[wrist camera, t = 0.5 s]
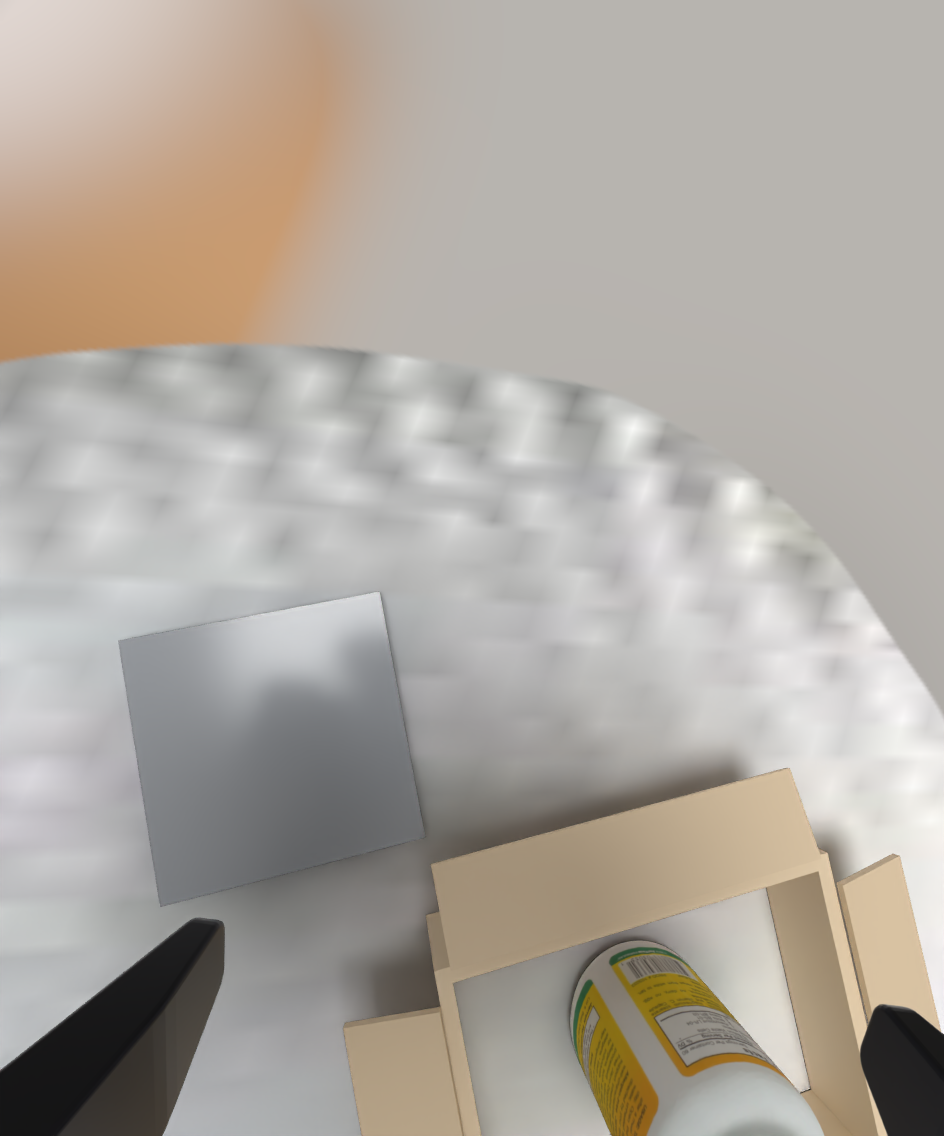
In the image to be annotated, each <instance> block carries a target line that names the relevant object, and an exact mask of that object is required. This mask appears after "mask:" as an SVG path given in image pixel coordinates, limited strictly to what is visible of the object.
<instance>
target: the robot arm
mask: <svg viewBox="0 0 944 1136" xmlns="http://www.w3.org/2000/svg"><path fill="white" fill-rule="evenodd" d="M224 947H225V928H224V924H223V922H222V921H219V920H213V919H205V918H194V919H192V920H190V921H188V922H187V923H186V924H184V925H183V926H182V927H181V928H179V929H178V930H177V931H176V932H174V933H173V934H172V935H170V936H169V937H168V938H167V939H165V940H164V941H163V942H162V943H160V944H159V945H158V946H157V947H155V948H154V949H153V950H152V951H150V952H149V953H148V954H147V955H145V956H144V957H143V958H141V959H140V960H139V961H138V962H136V963H135V964H134V965H133V966H131V967H130V968H129V969H128V970H126V971H125V972H124V973H123V974H121V975H120V976H119V977H117V978H116V979H115V980H114V981H112V982H111V983H110V984H109V985H107V986H106V987H105V988H104V989H102V990H101V991H100V992H99V993H97V994H96V995H95V996H93V997H92V998H91V999H90V1000H88V1001H87V1002H86V1003H85V1004H83V1005H82V1006H81V1007H80V1008H78V1009H77V1010H76V1011H75V1012H73V1013H72V1014H71V1015H69V1016H68V1017H67V1018H66V1019H64V1020H63V1021H62V1022H61V1023H59V1024H58V1025H57V1026H56V1027H54V1028H53V1029H52V1030H51V1031H49V1032H48V1033H47V1034H46V1035H44V1036H43V1037H42V1038H40V1039H39V1040H38V1041H37V1042H35V1043H34V1044H33V1045H32V1046H30V1047H29V1048H28V1049H27V1050H25V1051H24V1052H23V1053H22V1054H20V1055H19V1056H18V1057H16V1058H15V1059H14V1060H13V1061H11V1062H10V1063H9V1064H8V1065H6V1066H5V1067H4V1068H3V1069H1V1070H0V1136H162V1135H163V1133H164V1131H165V1129H166V1126H167V1124H168V1122H169V1119H170V1117H171V1114H172V1112H173V1109H174V1107H175V1104H176V1102H177V1099H178V1096H179V1094H180V1091H181V1088H182V1086H183V1083H184V1081H185V1078H186V1075H187V1073H188V1070H189V1067H190V1065H191V1062H192V1059H193V1057H194V1054H195V1052H196V1049H197V1046H198V1044H199V1041H200V1038H201V1036H202V1033H203V1030H204V1028H205V1025H206V1023H207V1020H208V1017H209V1015H210V1012H211V1009H212V1007H213V1004H214V1001H215V999H216V996H217V994H218V991H219V988H220V985H221V982H222V978H223V973H224ZM860 1061H861V1065H862V1069H863V1072H864V1075H865V1078H866V1080H867V1083H868V1086H869V1088H870V1091H871V1094H872V1096H873V1099H874V1101H875V1104H876V1107H877V1109H878V1112H879V1115H880V1117H881V1120H882V1122H883V1125H884V1128H885V1130H886V1133H887V1136H944V1034H943V1033H941V1032H940V1031H939V1030H938V1029H937V1028H935V1027H934V1026H933V1025H932V1024H931V1023H929V1022H928V1021H927V1020H926V1019H924V1018H923V1017H922V1016H921V1015H920V1014H918V1013H917V1012H916V1011H914V1010H912V1009H910V1008H908V1007H903V1006H895V1005H888V1004H879V1005H878V1006H876V1007H875V1008H874V1010H873V1013H872V1015H871V1018H870V1021H869V1024H868V1027H867V1030H866V1032H865V1035H864V1038H863V1041H862V1044H861V1047H860Z"/></svg>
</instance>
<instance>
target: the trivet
mask: <svg viewBox="0 0 944 1136" xmlns="http://www.w3.org/2000/svg"><path fill="white" fill-rule="evenodd" d="M118 642H119V649H120V655H121V661H122V668H123V674H124V680H125V687H126V693H127V700H128V706H129V712H130V719H131V725H132V731H133V738H134V744H135V750H136V757H137V763H138V769H139V776H140V782H141V788H142V795H143V801H144V807H145V814H146V820H147V827H148V833H149V839H150V846H151V852H152V858H153V865H154V871H155V877H156V884H157V890H158V896H159V903H160V907H162V906H166V905H170V904H174V903H177V902H181V901H185V900H189V899H193V898H197V897H200V896H204V895H208V894H212V893H216V892H219V891H223V890H227V889H231V888H235V887H239V886H242V885H246V884H250V883H254V882H258V881H261V880H265V879H269V878H273V877H277V876H281V875H284V874H288V873H292V872H296V871H300V870H303V869H307V868H311V867H315V866H319V865H322V864H326V863H330V862H334V861H338V860H342V859H345V858H349V857H353V856H357V855H361V854H364V853H368V852H372V851H376V850H380V849H384V848H387V847H391V846H395V845H399V844H403V843H406V842H410V841H414V840H418V839H422V838H425V833H424V827H423V822H422V817H421V811H420V806H419V801H418V795H417V790H416V784H415V779H414V774H413V768H412V763H411V758H410V752H409V747H408V742H407V736H406V731H405V726H404V720H403V715H402V709H401V704H400V699H399V693H398V688H397V683H396V677H395V672H394V667H393V661H392V656H391V650H390V645H389V640H388V634H387V629H386V624H385V618H384V613H383V608H382V602H381V597H380V592H374V593H369V594H364V595H358V596H353V597H348V598H342V599H337V600H332V601H327V602H321V603H316V604H311V605H305V606H300V607H295V608H289V609H284V610H279V611H273V612H268V613H263V614H257V615H252V616H247V617H241V618H236V619H231V620H225V621H220V622H215V623H210V624H204V625H199V626H194V627H188V628H183V629H178V630H172V631H167V632H162V633H156V634H151V635H146V636H140V637H135V638H130V639H124V640H119V641H118Z"/></svg>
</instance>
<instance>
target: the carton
mask: <svg viewBox="0 0 944 1136" xmlns="http://www.w3.org/2000/svg"><path fill="white" fill-rule="evenodd" d="M431 869H432V874H433V879H434V885H435V890H436V895H437V901H438V906H439V912H435V913H432V914H428V915H426V920H427V927H428V934H429V940H430V947H431V954H432V961H433V968H434V974H435V979H436V985H437V990H438V995H439V1001H440V1006H441V1008H440V1007H436V1008H430V1009H424V1010H418V1011H412V1012H406V1013H400V1014H394V1015H388V1016H382V1017H376V1018H370V1019H364V1020H358V1021H352V1022H346V1023H345V1024H344V1027H343V1031H344V1037H345V1043H346V1048H347V1054H348V1060H349V1065H350V1071H351V1077H352V1083H353V1088H354V1094H355V1100H356V1106H357V1111H358V1117H359V1123H360V1129H361V1134H362V1136H481V1131H480V1125H479V1120H478V1115H477V1109H476V1104H475V1099H474V1093H473V1088H472V1083H471V1077H470V1072H469V1067H468V1061H467V1056H466V1050H465V1045H464V1040H463V1034H462V1029H461V1024H460V1018H459V1013H458V1008H457V1002H456V997H455V991H454V986H453V983H455V982H458V981H462V980H465V979H468V978H471V977H475V976H478V975H481V974H485V973H488V972H491V971H494V970H498V969H501V968H504V967H507V966H511V965H514V964H517V963H520V962H524V961H527V960H530V959H533V958H537V957H540V956H543V955H546V954H550V953H553V952H556V951H559V950H563V949H566V948H569V947H573V946H576V945H579V944H582V943H586V942H589V941H592V940H595V939H599V938H602V937H605V936H608V935H612V934H615V933H618V932H621V931H625V930H628V929H631V928H634V927H638V926H641V925H644V924H648V923H651V922H654V921H657V920H661V919H664V918H667V917H670V916H674V915H677V914H680V913H683V912H687V911H690V910H693V909H696V908H700V907H703V906H706V905H709V904H713V903H716V902H719V901H723V900H726V899H729V898H732V897H736V896H739V895H742V894H745V893H749V892H752V891H755V890H758V889H762V888H765V887H766V888H767V892H768V897H769V901H770V906H771V910H772V915H773V919H774V924H775V929H776V933H777V938H778V942H779V947H780V951H781V956H782V960H783V965H784V969H785V974H786V978H787V983H788V987H789V992H790V996H791V1001H792V1005H793V1010H794V1014H795V1019H796V1023H797V1028H798V1032H799V1037H800V1042H801V1046H802V1051H803V1055H804V1060H805V1064H806V1069H807V1073H808V1078H809V1082H810V1087H811V1090H809V1091H806V1092H803V1093H801V1095H802V1097H803V1098H804V1099H805V1100H806V1102H807V1103H808V1105H809V1106H810V1108H811V1109H812V1111H813V1113H814V1114H815V1116H816V1118H817V1120H818V1122H819V1124H820V1126H821V1128H822V1131H823V1133H824V1136H887V1133H886V1130H885V1128H884V1125H883V1122H882V1120H881V1117H880V1115H879V1112H878V1109H877V1107H876V1104H875V1101H874V1099H873V1096H872V1094H871V1091H870V1088H869V1086H868V1083H867V1080H866V1078H865V1075H864V1072H863V1069H862V1065H861V1061H860V1047H861V1044H862V1041H863V1038H864V1035H865V1032H866V1030H867V1023H866V1019H865V1015H864V1010H863V1006H862V1002H861V997H860V993H859V988H858V984H857V980H856V975H855V971H854V967H853V962H852V958H851V953H850V949H849V945H848V940H847V936H846V931H845V927H844V923H843V918H842V914H841V910H840V905H839V901H838V896H837V892H836V888H835V883H834V879H833V875H832V870H831V866H830V861H829V857H828V853H827V852H825V851H823V850H821V849H819V848H818V847H817V844H816V841H815V838H814V836H813V833H812V830H811V827H810V824H809V821H808V819H807V816H806V813H805V810H804V807H803V805H802V802H801V799H800V796H799V793H798V790H797V788H796V785H795V782H794V779H793V776H792V773H791V771H790V768H784V769H780V770H776V771H773V772H769V773H765V774H762V775H758V776H754V777H751V778H747V779H743V780H739V781H736V782H732V783H728V784H725V785H721V786H717V787H713V788H710V789H706V790H702V791H699V792H695V793H691V794H688V795H684V796H680V797H676V798H673V799H669V800H665V801H662V802H658V803H654V804H651V805H647V806H643V807H639V808H636V809H632V810H628V811H625V812H621V813H617V814H613V815H610V816H606V817H602V818H599V819H595V820H591V821H588V822H584V823H580V824H576V825H573V826H569V827H565V828H562V829H558V830H554V831H551V832H547V833H543V834H539V835H536V836H532V837H528V838H525V839H521V840H517V841H514V842H510V843H506V844H502V845H499V846H495V847H491V848H488V849H484V850H480V851H476V852H473V853H469V854H465V855H462V856H458V857H454V858H451V859H447V860H443V861H439V862H436V863H432V864H431ZM837 888H838V892H839V896H840V901H841V905H842V909H843V914H844V918H845V923H846V927H847V931H848V936H849V940H850V944H851V949H852V953H853V958H854V962H855V966H856V971H857V975H858V979H859V984H860V988H861V993H862V997H863V1001H864V1006H865V1010H866V1014H867V1019H868V1023H869V1021H870V1018H871V1015H872V1013H873V1010H874V1008H875V1007H876V1006H878V1005H879V1004H888V1005H895V1006H903V1007H908V1008H910V1009H912V1010H914V1011H916V1012H917V1013H918V1014H920V1015H921V1016H922V1017H923V1018H924V1019H926V1020H927V1021H928V1022H929V1023H931V1024H932V1025H933V1026H934V1027H935V1028H937V1029H938V1030H939V1031H940V1032H941V1029H940V1025H939V1021H938V1016H937V1012H936V1008H935V1004H934V999H933V995H932V991H931V987H930V982H929V978H928V974H927V970H926V965H925V961H924V957H923V953H922V948H921V944H920V940H919V936H918V932H917V927H916V923H915V919H914V915H913V910H912V906H911V902H910V898H909V893H908V889H907V885H906V881H905V876H904V872H903V868H902V864H901V859H900V856H899V855H895V854H891V855H889V856H887V857H886V858H884V859H882V860H880V861H878V862H876V863H874V864H872V865H870V866H868V867H866V868H864V869H862V870H860V871H859V872H857V873H855V874H853V875H851V876H849V877H847V878H845V879H843V880H841V881H839V882H837ZM441 1012H442V1013H441ZM442 1017H443V1019H442ZM443 1022H444V1024H443ZM444 1028H445V1030H444ZM445 1033H446V1035H445ZM446 1039H447V1040H446ZM447 1044H448V1046H447ZM448 1049H449V1051H448ZM449 1055H450V1057H449ZM450 1060H451V1062H450ZM451 1066H452V1068H451ZM452 1071H453V1073H452ZM453 1077H454V1078H453ZM454 1082H455V1084H454ZM455 1087H456V1089H455ZM456 1093H457V1095H456ZM457 1098H458V1100H457ZM458 1104H459V1105H458ZM459 1109H460V1111H459ZM460 1114H461V1116H460ZM461 1120H462V1122H461ZM462 1125H463V1127H462ZM463 1131H464V1132H463Z"/></svg>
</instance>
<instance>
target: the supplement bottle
mask: <svg viewBox="0 0 944 1136" xmlns="http://www.w3.org/2000/svg"><path fill="white" fill-rule="evenodd" d="M570 1029H571V1037H572V1042H573V1046H574V1049H575V1052H576V1055H577V1057H578V1060H579V1062H580V1065H581V1067H582V1069H583V1072H584V1074H585V1076H586V1078H587V1080H588V1083H589V1085H590V1088H591V1090H592V1092H593V1094H594V1096H595V1099H596V1101H597V1103H598V1105H599V1108H600V1110H601V1113H602V1115H603V1117H604V1119H605V1122H606V1124H607V1127H608V1129H609V1131H610V1133H611V1135H612V1136H824V1133H823V1131H822V1128H821V1126H820V1124H819V1122H818V1120H817V1118H816V1116H815V1114H814V1113H813V1111H812V1109H811V1108H810V1106H809V1105H808V1103H807V1102H806V1100H805V1099H804V1098H803V1097H802V1095H801V1094H800V1093H799V1091H798V1090H797V1089H796V1088H795V1087H794V1085H793V1084H792V1083H791V1082H790V1081H789V1080H788V1078H787V1077H786V1076H785V1075H784V1074H783V1073H782V1072H781V1071H780V1069H779V1068H778V1067H777V1066H776V1065H775V1064H774V1063H773V1061H772V1060H771V1059H770V1058H769V1057H768V1056H767V1055H766V1053H765V1052H764V1051H763V1050H762V1049H761V1048H760V1046H759V1045H758V1044H757V1043H756V1042H755V1041H754V1040H753V1039H752V1037H751V1036H750V1035H749V1034H748V1033H747V1032H746V1031H745V1029H744V1028H743V1027H742V1026H741V1025H740V1024H739V1022H738V1021H737V1020H736V1019H735V1018H734V1017H733V1015H732V1014H731V1013H730V1012H729V1011H728V1010H727V1008H726V1007H725V1006H724V1005H723V1004H722V1002H721V1001H720V1000H719V999H718V998H717V997H716V996H715V995H714V994H713V992H712V991H711V990H710V989H709V988H708V987H707V986H706V984H705V983H704V982H703V981H702V980H701V979H700V978H699V977H698V975H697V974H696V973H695V972H694V971H693V970H692V969H691V967H690V966H689V965H688V964H687V963H686V962H685V961H684V960H683V959H682V958H681V957H680V956H679V955H678V954H676V953H675V952H673V951H672V950H670V949H669V948H667V947H664V946H662V945H660V944H657V943H653V942H649V941H628V942H624V943H620V944H617V945H615V946H613V947H611V948H609V949H607V950H606V951H604V952H603V953H601V954H600V955H599V956H598V957H597V958H596V959H595V960H594V961H593V962H592V963H591V964H590V965H589V966H588V968H587V969H586V970H585V972H584V973H583V975H582V976H581V978H580V980H579V982H578V985H577V988H576V991H575V994H574V998H573V1002H572V1007H571V1016H570Z"/></svg>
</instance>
